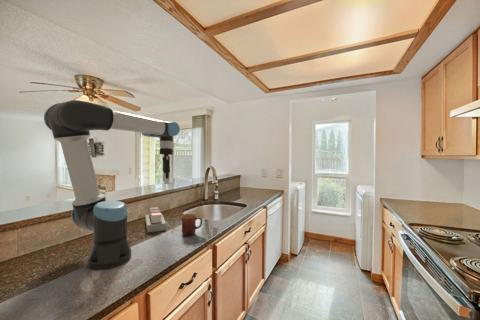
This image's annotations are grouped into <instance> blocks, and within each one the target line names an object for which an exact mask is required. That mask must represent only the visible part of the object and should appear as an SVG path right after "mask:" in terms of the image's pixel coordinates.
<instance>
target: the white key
mask: <svg viewBox="0 0 480 320" xmlns="http://www.w3.org/2000/svg"><path fill="white" fill-rule="evenodd" d="M151 221H152V223H159V222H161V212H160V213H151Z"/></svg>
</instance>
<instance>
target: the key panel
mask: <svg viewBox="0 0 480 320" xmlns="http://www.w3.org/2000/svg"><path fill="white" fill-rule="evenodd" d="M160 213H161V212H160ZM145 226H146V233H154V232H160V231H167V222H166V219H165V218H164V215H163V213H161V222H159V223H152V221H151V217H150V214H146V215H145Z"/></svg>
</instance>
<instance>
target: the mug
mask: <svg viewBox="0 0 480 320" xmlns="http://www.w3.org/2000/svg"><path fill="white" fill-rule="evenodd" d="M180 219H181V234H182V236H184V237H191V236H194V235H195V234H196V230H198V229H200V228H201V227H202V225H203V218H202V217H199V216H198V215H197V214H195V213H185V214H181V215H180ZM197 220H200V223H199V225H197V226H196V221H197Z"/></svg>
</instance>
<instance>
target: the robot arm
mask: <svg viewBox="0 0 480 320" xmlns="http://www.w3.org/2000/svg"><path fill="white" fill-rule="evenodd" d="M43 122H44V124H45V126H46V127H47V128H48V129H49V130H50V131H51V133H52V135H53V136H52V137H53V139H54V140H55V141H58V142H59V143H60V146H61V149H62V153H63V157H64V161H65V165H66V167H67V172H68V175H69V179H70V183H71V187H72V190H73V194H74V198H75V199H73V201H72V203H71V205H72V211H71V214H70V218H71V220H72V223H74V225H76V226H77V227H80V228H81V229H86V230H88V231H91V232H93V234H92V235H93V238H92V239H93V241H92V242H93V244H92V247H91V250H90V252H89V254H88V257H87V267H88V268H89V269H91V270H96V271H97V270H106V269H112V268H116V267H118V266H121V265H123V264H125V263H127V262H128V261H129V260H131V258H132V249H131V246H130V243H129V241H128V214H129V213H128V212H129V211H128V207H127V204H126V203H125V202H123V201H120V200H119V201H118V200H107V198H106V196H105V195H106V194H104V193H102V192H100V188H99V185H98V180H97V176H96V172H95V168H94V164H93V160H92V155H91V152H90V147H89V143H88V138H89V137H90V136H91V132H90V131H107V132H108V131H110V130H117V131H118V130H119V131H127V132H134V133H135V132H136V133H141V135H142V136H144V137H150V138H159V155H161V156H163V157H162V182H163V183H164V185H170V172H171V165H170V164H171V163H170V162H171V161H170V160H171V157H170V156H171V155H174V154H173V153H174V149H173V147H174V144H175V143H174V142H173V141H174V137H175V136H178V135H179V133H180V125H179V123H177V122H176V121H164V120H159V119H154V118H150V117H145V116H141V115H136V114H132V113H127V112H122V111H117V110H114V109H113V108H111V107H110V106H105V105H102V104H97V103H93V102H90V101H89V102H88V101H85V100H78V99H77V100H76V99H74V100H67V101H63V102H58V103H55V104H53V105H51V106H49V107H48V108H47V109H46V110H45V111H44V114H43Z"/></svg>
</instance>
